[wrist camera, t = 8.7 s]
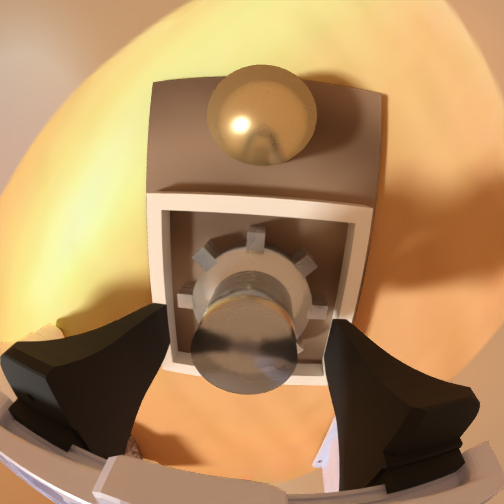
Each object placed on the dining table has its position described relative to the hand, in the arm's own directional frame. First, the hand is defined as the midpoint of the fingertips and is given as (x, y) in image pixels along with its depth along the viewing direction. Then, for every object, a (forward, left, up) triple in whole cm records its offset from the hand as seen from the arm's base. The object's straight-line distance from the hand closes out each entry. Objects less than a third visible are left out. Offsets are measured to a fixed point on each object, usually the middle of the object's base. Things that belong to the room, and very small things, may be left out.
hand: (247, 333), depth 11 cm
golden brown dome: (+9, 0, -4) cm, 10 cm away
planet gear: (0, 0, -4) cm, 4 cm away
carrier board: (+3, 0, -4) cm, 5 cm away
